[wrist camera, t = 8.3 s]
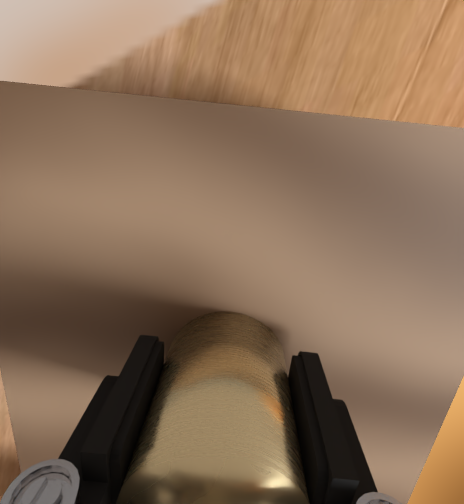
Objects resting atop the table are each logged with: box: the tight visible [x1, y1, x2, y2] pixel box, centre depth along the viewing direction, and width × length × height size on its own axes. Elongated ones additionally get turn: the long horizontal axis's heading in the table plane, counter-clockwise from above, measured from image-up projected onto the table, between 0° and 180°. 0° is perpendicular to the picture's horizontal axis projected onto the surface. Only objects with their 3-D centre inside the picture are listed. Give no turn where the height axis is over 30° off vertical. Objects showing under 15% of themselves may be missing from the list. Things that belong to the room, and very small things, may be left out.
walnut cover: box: [0, 81, 464, 504], centre depth 14 cm, size 16×16×16 cm
